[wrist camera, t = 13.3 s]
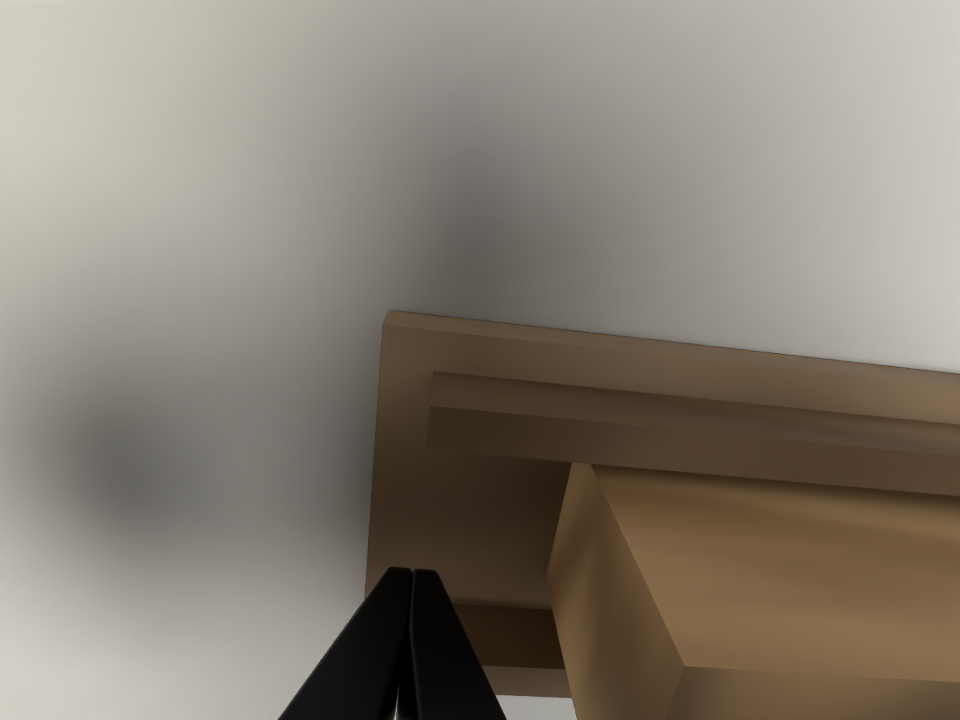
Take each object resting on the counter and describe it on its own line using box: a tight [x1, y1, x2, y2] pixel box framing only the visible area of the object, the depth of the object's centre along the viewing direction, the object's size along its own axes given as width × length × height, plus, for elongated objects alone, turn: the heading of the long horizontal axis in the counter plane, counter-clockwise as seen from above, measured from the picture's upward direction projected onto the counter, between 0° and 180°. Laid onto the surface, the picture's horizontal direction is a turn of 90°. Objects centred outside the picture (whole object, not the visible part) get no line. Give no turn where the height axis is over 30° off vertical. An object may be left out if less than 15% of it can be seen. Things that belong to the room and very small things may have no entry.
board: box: [365, 310, 960, 698], centre depth 11 cm, size 8×20×2 cm, turn 83°
